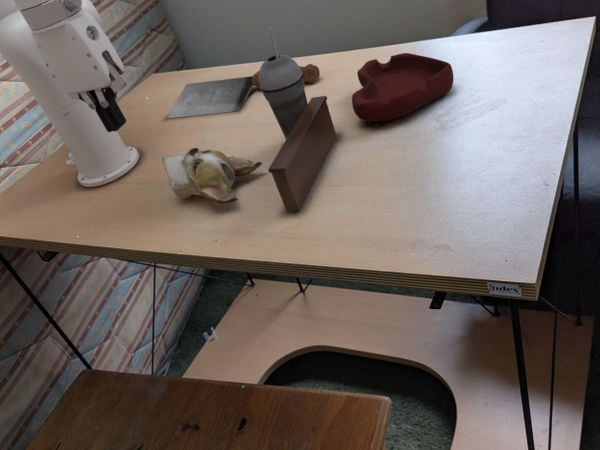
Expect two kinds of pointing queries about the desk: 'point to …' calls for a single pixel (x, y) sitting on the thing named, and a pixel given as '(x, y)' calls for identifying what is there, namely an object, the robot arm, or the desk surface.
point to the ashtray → (399, 86)
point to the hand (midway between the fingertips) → (117, 126)
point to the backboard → (303, 154)
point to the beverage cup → (283, 88)
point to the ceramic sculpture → (206, 174)
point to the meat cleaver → (223, 94)
